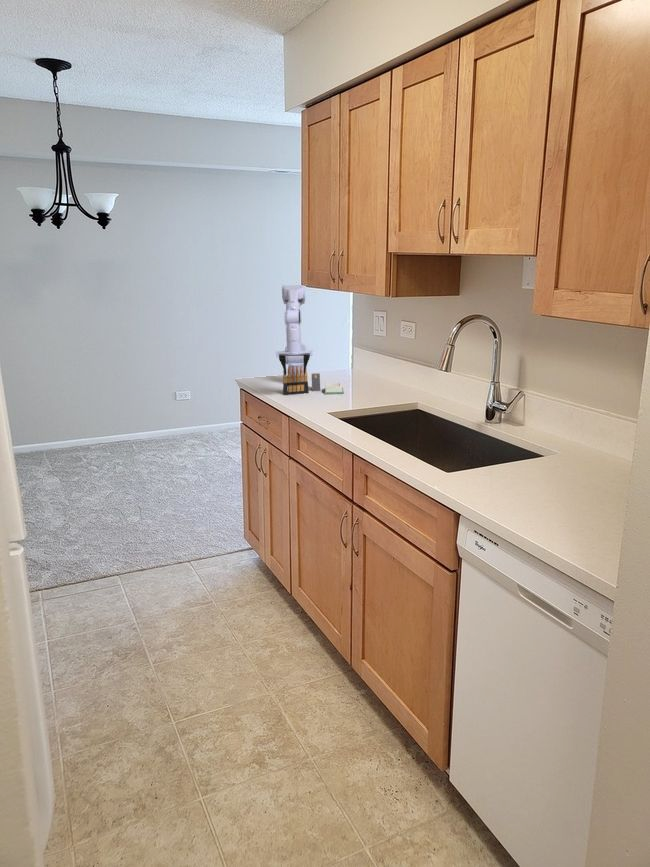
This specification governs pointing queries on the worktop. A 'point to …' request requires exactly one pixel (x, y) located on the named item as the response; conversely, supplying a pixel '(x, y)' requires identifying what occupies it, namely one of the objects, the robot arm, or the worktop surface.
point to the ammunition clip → (295, 382)
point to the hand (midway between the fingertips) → (295, 373)
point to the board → (333, 388)
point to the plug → (316, 382)
